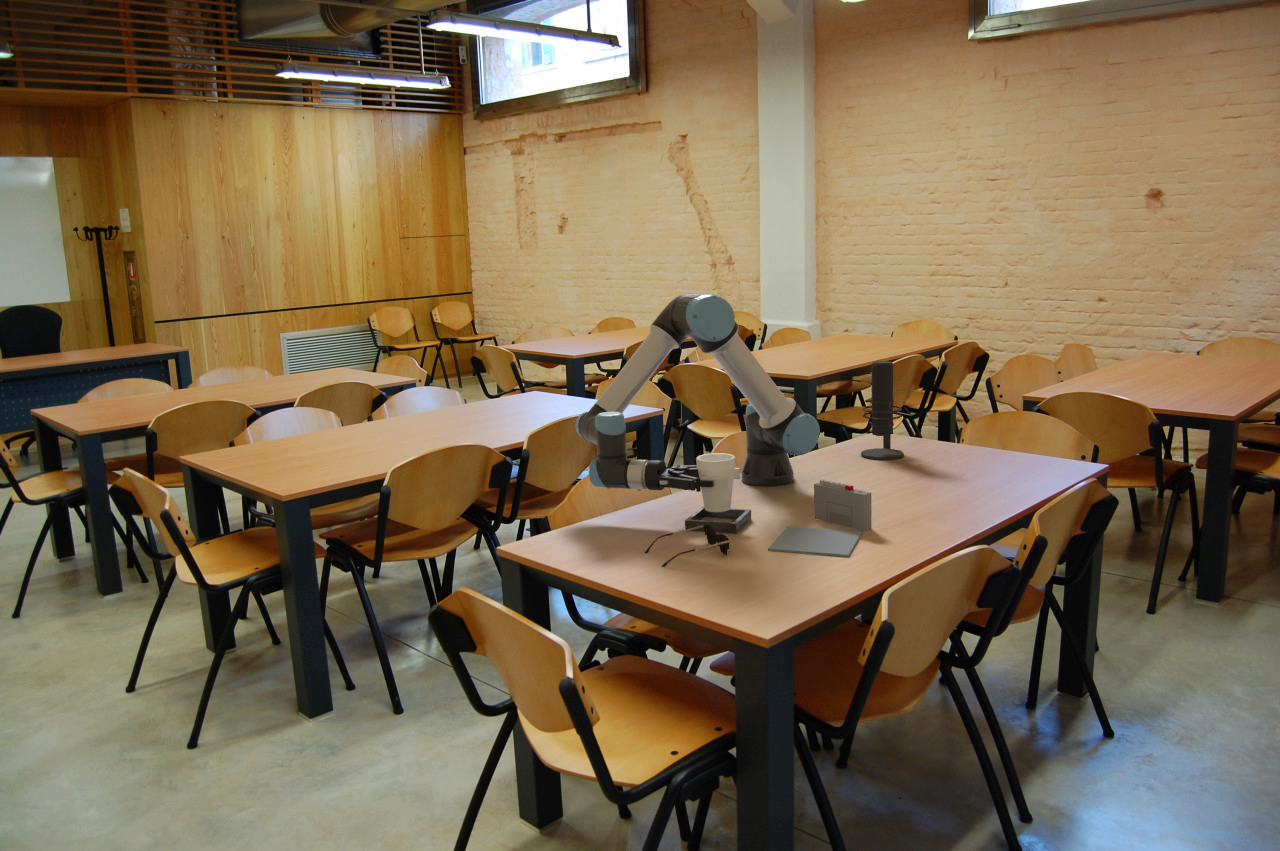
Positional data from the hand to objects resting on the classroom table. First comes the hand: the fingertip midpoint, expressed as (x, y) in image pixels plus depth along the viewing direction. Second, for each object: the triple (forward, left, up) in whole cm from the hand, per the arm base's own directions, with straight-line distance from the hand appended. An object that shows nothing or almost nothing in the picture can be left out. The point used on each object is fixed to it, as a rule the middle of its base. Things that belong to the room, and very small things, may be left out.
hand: (733, 478), depth 234 cm
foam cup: (0, -4, -8) cm, 9 cm away
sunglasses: (+24, -4, -13) cm, 27 cm away
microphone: (-86, +23, -12) cm, 90 cm away
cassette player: (-8, +25, -12) cm, 29 cm away
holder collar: (0, -4, -12) cm, 13 cm away
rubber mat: (+8, +22, -12) cm, 26 cm away
